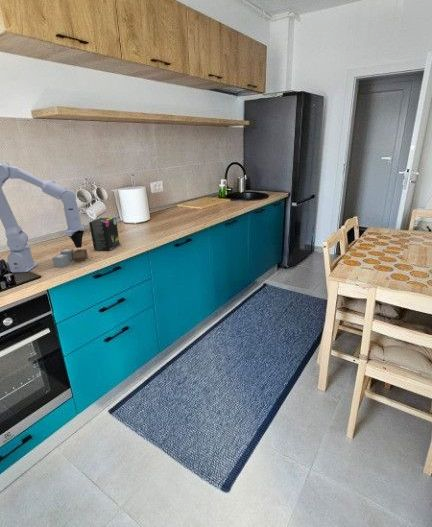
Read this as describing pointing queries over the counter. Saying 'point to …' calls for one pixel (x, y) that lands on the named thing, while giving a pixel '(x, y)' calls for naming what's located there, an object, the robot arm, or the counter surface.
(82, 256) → the walnut cube
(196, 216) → the counter surface
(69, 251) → the grey dot cube
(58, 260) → the grey dot cube
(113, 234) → the tampon box
